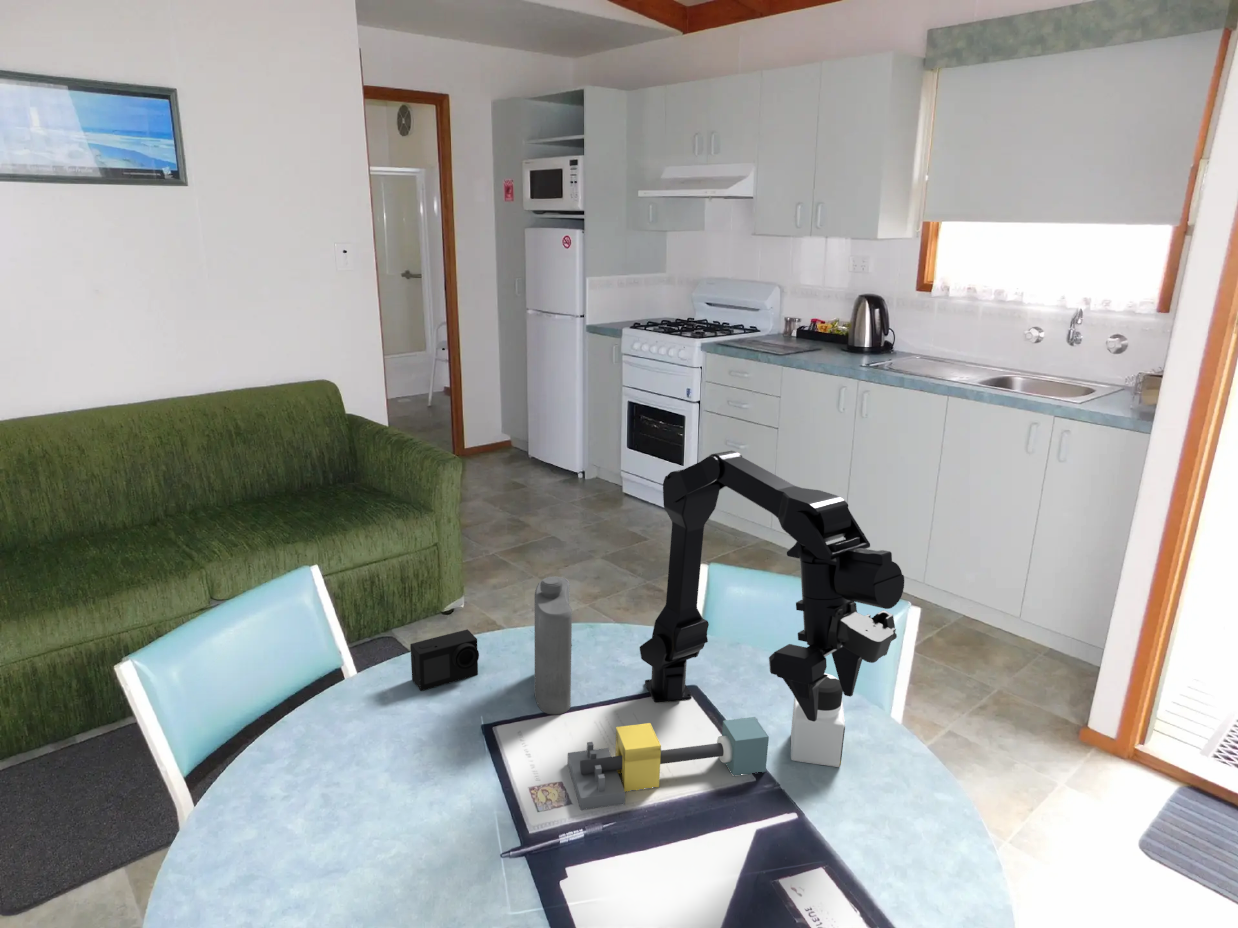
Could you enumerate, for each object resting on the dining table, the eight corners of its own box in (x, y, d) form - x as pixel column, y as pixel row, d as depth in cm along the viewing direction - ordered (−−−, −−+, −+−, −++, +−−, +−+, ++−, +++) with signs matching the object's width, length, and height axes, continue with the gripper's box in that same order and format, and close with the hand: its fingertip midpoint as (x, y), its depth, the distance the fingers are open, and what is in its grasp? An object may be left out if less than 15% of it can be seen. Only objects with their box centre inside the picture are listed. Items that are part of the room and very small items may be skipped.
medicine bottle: (840, 768, 120) (849, 695, 116) (790, 761, 121) (797, 689, 118) (838, 739, 126) (846, 670, 123) (790, 733, 128) (797, 664, 124)
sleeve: (615, 767, 118) (616, 726, 116) (648, 763, 119) (650, 722, 117) (624, 791, 113) (625, 749, 111) (659, 787, 114) (661, 745, 112)
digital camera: (422, 695, 135) (421, 657, 133) (411, 680, 140) (409, 643, 138) (481, 678, 141) (480, 641, 139) (468, 664, 145) (467, 628, 143)
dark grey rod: (584, 797, 112) (585, 759, 110) (577, 774, 117) (578, 737, 115) (765, 772, 118) (768, 736, 116) (752, 751, 123) (754, 716, 121)
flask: (534, 667, 144) (534, 562, 139) (568, 667, 145) (569, 561, 139) (534, 716, 130) (534, 600, 125) (571, 715, 131) (572, 600, 125)
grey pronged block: (567, 764, 119) (567, 740, 118) (608, 759, 120) (608, 735, 119) (580, 810, 109) (581, 785, 108) (624, 804, 111) (625, 779, 110)
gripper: (843, 623, 95) (850, 752, 96) (916, 583, 108) (921, 697, 110) (763, 609, 102) (771, 728, 104) (839, 573, 115) (845, 679, 117)
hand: (830, 707), depth 109 cm, fingers open, 9 cm apart
